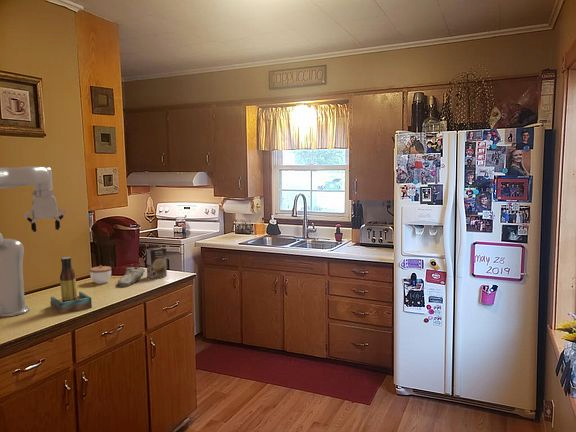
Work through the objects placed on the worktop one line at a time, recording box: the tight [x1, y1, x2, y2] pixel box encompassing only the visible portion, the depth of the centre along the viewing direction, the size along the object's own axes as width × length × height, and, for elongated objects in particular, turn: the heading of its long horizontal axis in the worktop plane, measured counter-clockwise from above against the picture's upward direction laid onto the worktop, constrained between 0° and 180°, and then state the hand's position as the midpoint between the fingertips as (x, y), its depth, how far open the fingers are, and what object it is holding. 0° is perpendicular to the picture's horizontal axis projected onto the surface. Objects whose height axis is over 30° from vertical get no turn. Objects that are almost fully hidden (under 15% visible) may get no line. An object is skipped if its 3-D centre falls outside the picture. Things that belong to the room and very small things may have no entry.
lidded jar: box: [89, 264, 112, 285], centre depth 248 cm, size 11×11×9 cm
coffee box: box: [146, 246, 168, 279], centre depth 260 cm, size 9×6×16 cm
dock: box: [50, 291, 93, 315], centre depth 205 cm, size 13×14×4 cm
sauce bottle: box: [59, 256, 78, 302], centre depth 204 cm, size 7×6×20 cm
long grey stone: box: [117, 266, 145, 288], centre depth 256 cm, size 35×5×10 cm
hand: (46, 230), depth 215 cm, fingers open, 9 cm apart
